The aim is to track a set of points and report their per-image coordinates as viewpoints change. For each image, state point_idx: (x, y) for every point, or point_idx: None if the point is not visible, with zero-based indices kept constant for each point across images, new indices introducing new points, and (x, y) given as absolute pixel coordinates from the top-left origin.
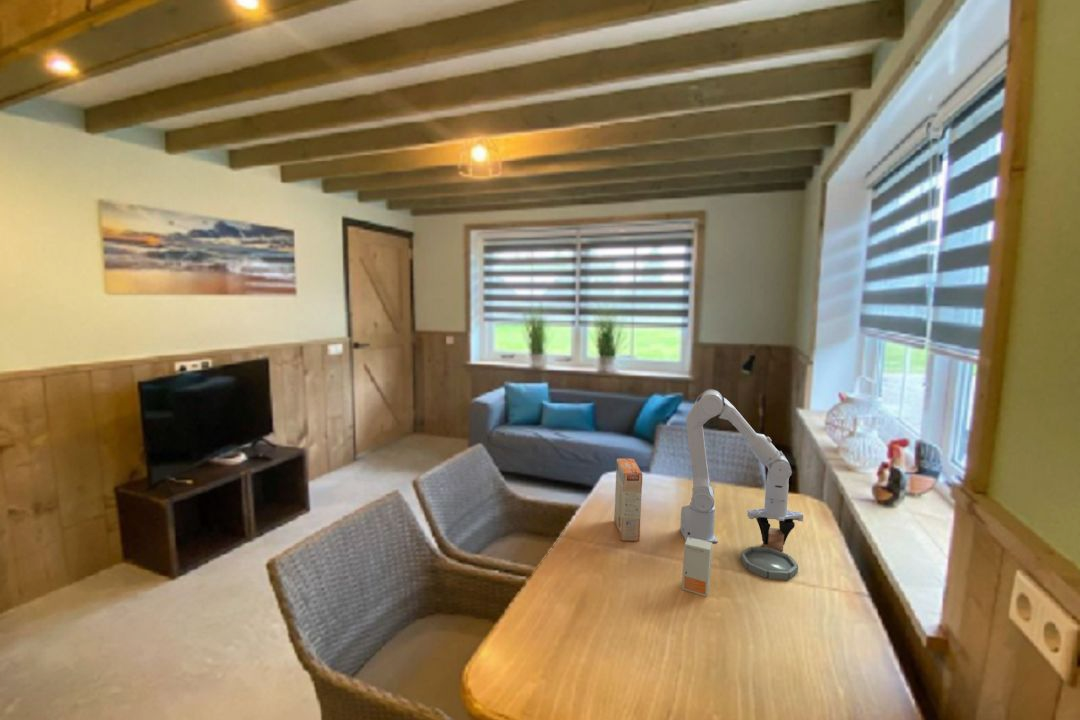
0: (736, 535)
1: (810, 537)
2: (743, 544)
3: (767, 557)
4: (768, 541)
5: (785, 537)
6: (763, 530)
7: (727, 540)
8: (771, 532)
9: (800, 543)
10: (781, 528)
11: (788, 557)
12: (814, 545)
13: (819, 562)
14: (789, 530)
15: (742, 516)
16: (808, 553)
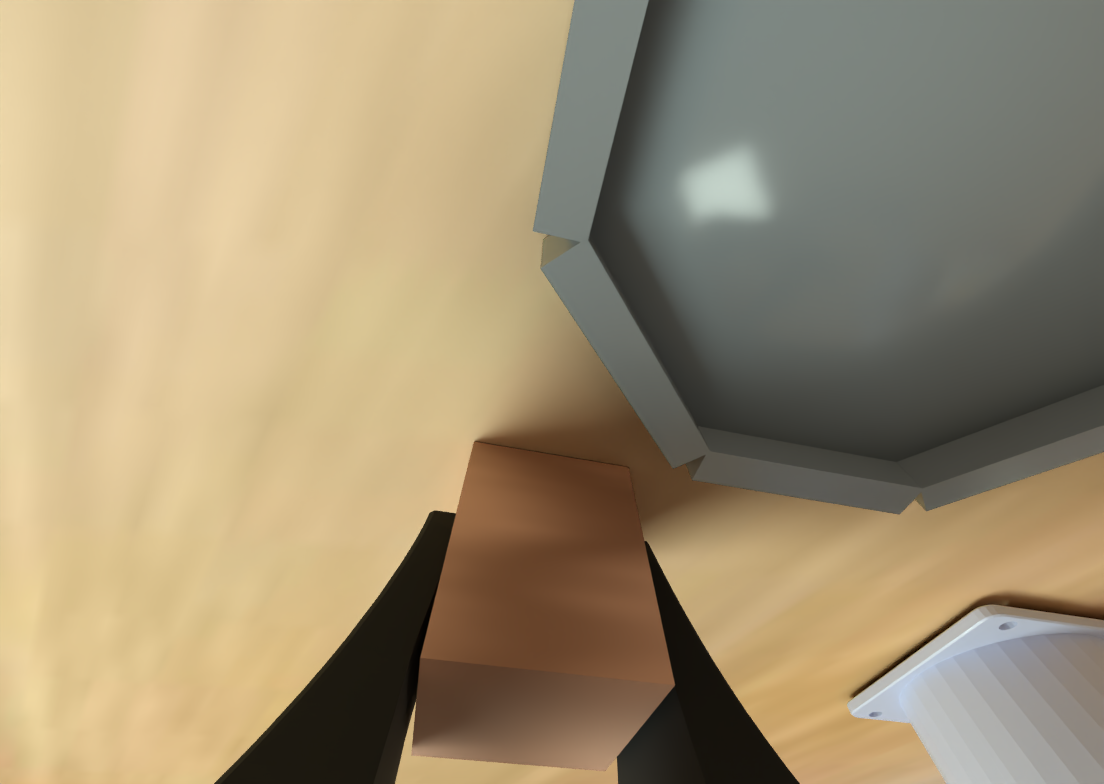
0: (712, 653)
1: (92, 597)
2: (775, 567)
3: (872, 291)
4: (644, 564)
5: (397, 605)
6: (787, 770)
7: (851, 615)
8: (596, 707)
9: (214, 539)
10: (390, 774)
11: (603, 176)
12: (72, 503)
13: (54, 142)
14: (273, 768)
15: (498, 765)
16: (176, 382)
